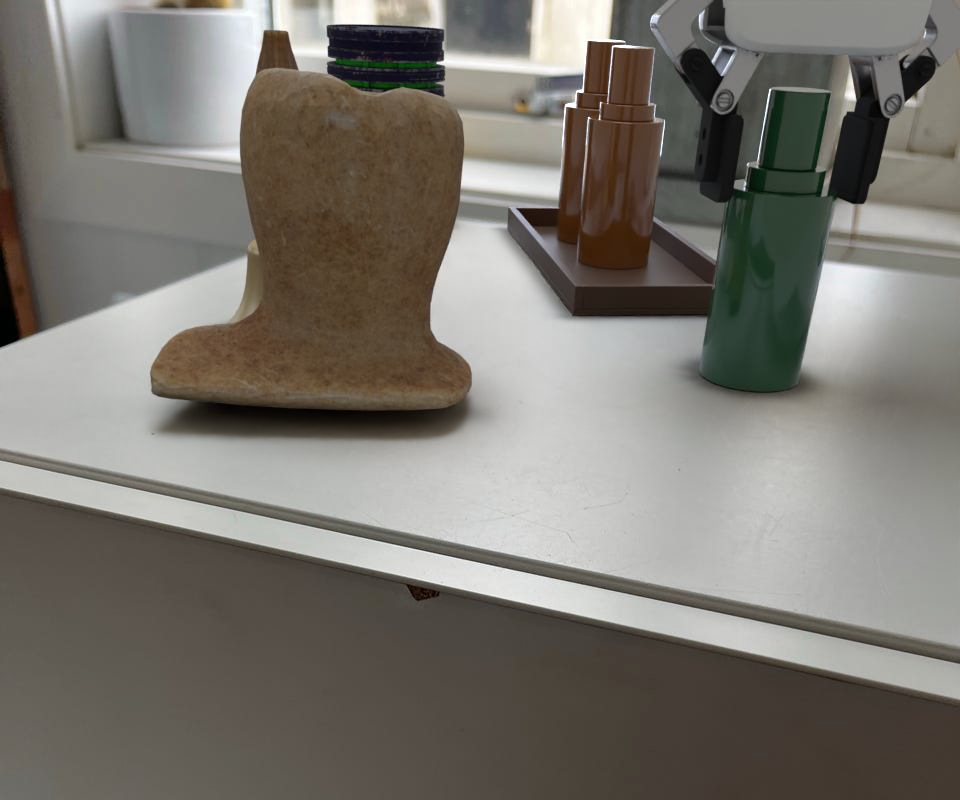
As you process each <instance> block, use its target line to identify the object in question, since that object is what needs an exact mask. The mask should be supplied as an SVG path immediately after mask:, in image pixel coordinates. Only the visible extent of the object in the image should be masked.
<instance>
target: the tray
mask: <svg viewBox="0 0 960 800" xmlns="http://www.w3.org/2000/svg"><path fill="white" fill-rule="evenodd" d="M557 214H558V206H508V207H507V227H506V229H507V231H508V232H509V233H510V235H511V236H512V238H513V239H514V240H515V242H517V244H518V245H519V247H520V248H521V249H522V250H523V252H524V253H525V254H526V256H527V257H528V258H529V260H530V261H531V262H532V264H533V265H534V266H535V268H536V269H537V270H538V271H539V273H540V274H541V276H542V277H543V278H544V279H545V281H546V282H547V283H548V284H549V286H550V287H551V288H552V290H553V291H554V293H556V295H557V296H558V297H559V299H560V300H561V301H562V302H563V304H564V305H565V307H566V308H567V309H568V310H569V312H570V313H571V314H572V315H573V316H654V315H655V316H666V315H667V316H668V315H669V316H673V315H675V316H676V315H687V316H689V315H694V316H695V315H697V316H698V315H708V311H709V304H710V298H711V291H712V285H713V279H714V272H715V266H716V259H715V258H714V257H712V256H711V255H709V254H708V253H706V252H705V251H704V250H702V249H701V248H699V247H698V246H696V245H695V244H693V242H691V241H689V240H688V239H687V238H685V237H683V235H681V234H679V233H678V232H677V231H675V230H674V229H672V228H671V227H670V226H668V225H666V224H665V223H664V222H662V221H661V220H660V219H658V218H657V217H655V216H654V217H653V225H652V233H651V242H650V250H649V258H648V264H647V265H646V266H644V267H641V268H636V269H622V270H619V269H604V268H597V267H592V266H588V265H585V264H582V263H580V262H578V261H577V258H576V257H577V244H571V243H566V242H563V241H560V240H559V239H557V238H556V228H557Z"/></svg>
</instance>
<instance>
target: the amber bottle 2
mask: <svg viewBox="0 0 960 800" xmlns="http://www.w3.org/2000/svg"><path fill="white" fill-rule="evenodd" d="M655 53H656V48H655V47H651V46H643V45H642V46H641V45H625V46H613V47H612V55H611V66H610V77H609V88H608V99H607V100H605V101H601V102H600V111H599V114H597V115H591V116H589V117H588V123H587V136H586V148H585V160H584V172H583V184H582V196H581V208H580V221H579V233H578V245H577V257H576V258H577V261H578V262H580V263H582V264H585V265H588V266H592V267H597V268H604V269H619V270H622V269H636V268H641V267H644V266H646V265H647V264H648V258H649V250H650V242H651V233H652V225H653V217H655V209H656V208H655V207H656V201H657V190H658V183H659V175H660V174H659V173H660V165H661V157H662V148H663V142H664V141H663V140H664V132H665V124H666V120H665V119H663V118H660V117H656V116H655V114H656V106H657V104H655V103H653V102H650V96H651V87H652V78H653V70H654V61H655Z"/></svg>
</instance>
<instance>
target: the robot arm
mask: <svg viewBox="0 0 960 800" xmlns="http://www.w3.org/2000/svg"><path fill="white" fill-rule="evenodd" d="M650 18H651V19H650V22H649V25H650V29H651V31H652V33H653V35H654V36H655V38H656V40H657V41H658V42H659V45H660V46H661V47H662V49H663V50H664V52H665V54H666V55H667V57H668V58H669V59H670V60H671V62H672V64H673V67H674V69H675V72H676V73H677V74H678V76H679V77H680V79H681V80H682V81H683V83H684V84H685V85H686V87H687V89H688V90H689V91H690V93H691V94H692V95H693V97H694V100H695V103H696V105H697V106H698V107H699V108H701V109H702V110H701V117H700V126H699V131H698V139H697V146H696V154H695V161H694V172H693V174H694V179H695V181H696V182H697V183H699V194H700V195H701V196H704V197H705V198H707V199H709V200H711V201H712V202H714V203H716V204H718V203H719V204H722V203H723V204H725V203H727V202H728V200H731V198H732V195H733V189H734V183H735V180H736V175H737V171H738V170H737V169H738V164H739V156H740V150H741V144H742V139H743V138H742V136H743V131H744V125H745V120H744V118H743V115H741V114H739V113H738V106H739V100H740V98H741V97H742V95H743V93H744V91H745V89H746V87H747V86H748V84H749V82H750V81H751V78H752V77H753V75H754V73H755V71H756V69H757V68H758V66H759V65H760V62H761V61H762V59H763V57H764V55H765V53H770V54H771V53H772V54H773V53H774V54H799V55H800V54H802V55H832V56H847V57H848V63H849V68H850V73H851V79H852V85H853V89H854V95H855V100H856V101H855V105H854V110H853V111H851V110H848V111H846V113H845V115H843V117H842V120H841V125H840V131H839V136H838V140H837V145H836V148H835V149H836V150H835V155H834V159H833V164H832V168H831V169H832V170H831V173H830V180H829V184H828V187H831V188H833V189H835V190H837V191H838V196H837V199H840V200H842V201H844V202H846V203H849V204H851V205H864V204H866V202H867V198H868V196H869V190H870V186H871V185H873V184H874V182H875V181H876V180H877V176H878V174H879V169H880V164H881V160H882V156H883V151H884V147H885V143H886V138H887V134H888V129H889V126H890V125H889V124H890V121H891V119H894V118H896V117H898V116H900V115H901V113H902V112H903V110H904V108H905V105H906V103H907V102H908V101H909V100H910V99H911V98H913V97H914V95H916V93H918V92H919V91H920V90H921V89H922V88H923V87H924V86H925V85H926V84H928V82H930V81H931V80H932V78H933V77H934V75H935V73H936V71H937V70H938V69H939V68H940V67H942V66H943V65H945V63H946V62H947V61H949V59H950V58H951V57H952V56H953V55H954V54H955V53H956V52H957V51H958V50H959V49H960V7H959V6H958V4H957V2H956V1H955V0H667V1H666V2H665V3H664V4H663V5H661V6H660V7H659V8H658V9H657V10H656V11H655V12H654V13H653V15H652V16H651V17H650ZM697 18H698V28H699V31H700V34H701V35H702V36H703V37H704V38H705V39H706V40H707V41H709V42H711V43H713V44H714V45H719V48H718V49H717V51H716V52H715V54H714V57H713V58H712V59H710V57H709V55H708V54H707V53H706V52H705V51H704V50H703V49H702V48H701V46H700V44H699V42H698V41H697V38H696V37H695V35H694V33H693V24H694V21H695V20H696V19H697ZM923 33H924V35H923ZM922 35H923V37H922V39H921V36H922ZM920 39H921V40H920ZM919 40H920V42H919V43H918V41H919ZM916 44H917V45H916ZM915 45H916V47H915V48H914V49H913V50H912V51H911V52H910V53H908V54H905V55H904V56H903V57H901V58H899V54H900V53H903V52H905V51H907V50H910V49H911V48H912V47H913V46H915Z"/></svg>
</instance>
